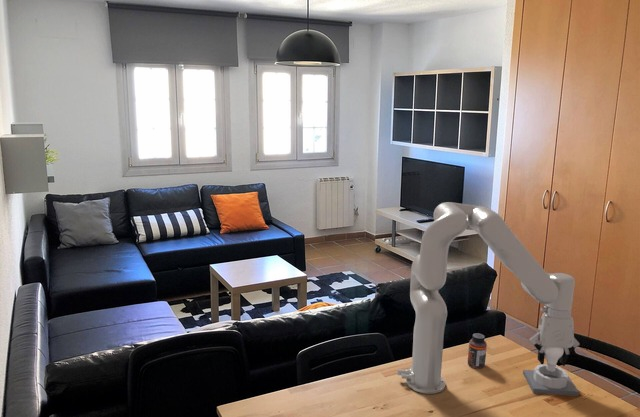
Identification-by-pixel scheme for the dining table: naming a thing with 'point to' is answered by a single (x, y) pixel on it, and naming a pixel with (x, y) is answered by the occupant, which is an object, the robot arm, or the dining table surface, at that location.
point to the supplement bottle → (477, 351)
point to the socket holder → (550, 381)
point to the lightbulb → (552, 357)
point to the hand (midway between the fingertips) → (551, 362)
